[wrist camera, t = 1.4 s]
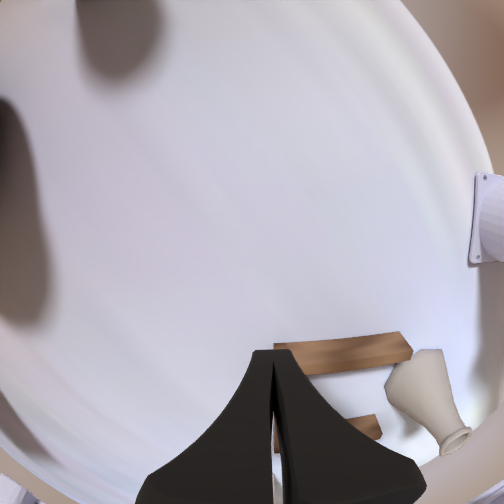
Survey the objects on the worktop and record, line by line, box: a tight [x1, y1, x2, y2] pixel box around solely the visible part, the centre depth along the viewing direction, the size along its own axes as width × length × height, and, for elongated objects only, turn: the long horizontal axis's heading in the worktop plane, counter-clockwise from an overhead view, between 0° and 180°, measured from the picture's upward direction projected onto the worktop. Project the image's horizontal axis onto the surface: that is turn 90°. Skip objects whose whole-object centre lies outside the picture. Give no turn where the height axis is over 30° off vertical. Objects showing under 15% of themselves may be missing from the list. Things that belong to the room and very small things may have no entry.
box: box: [273, 331, 413, 454], centre depth 22 cm, size 11×12×3 cm
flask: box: [385, 349, 472, 456], centre depth 18 cm, size 7×7×10 cm
